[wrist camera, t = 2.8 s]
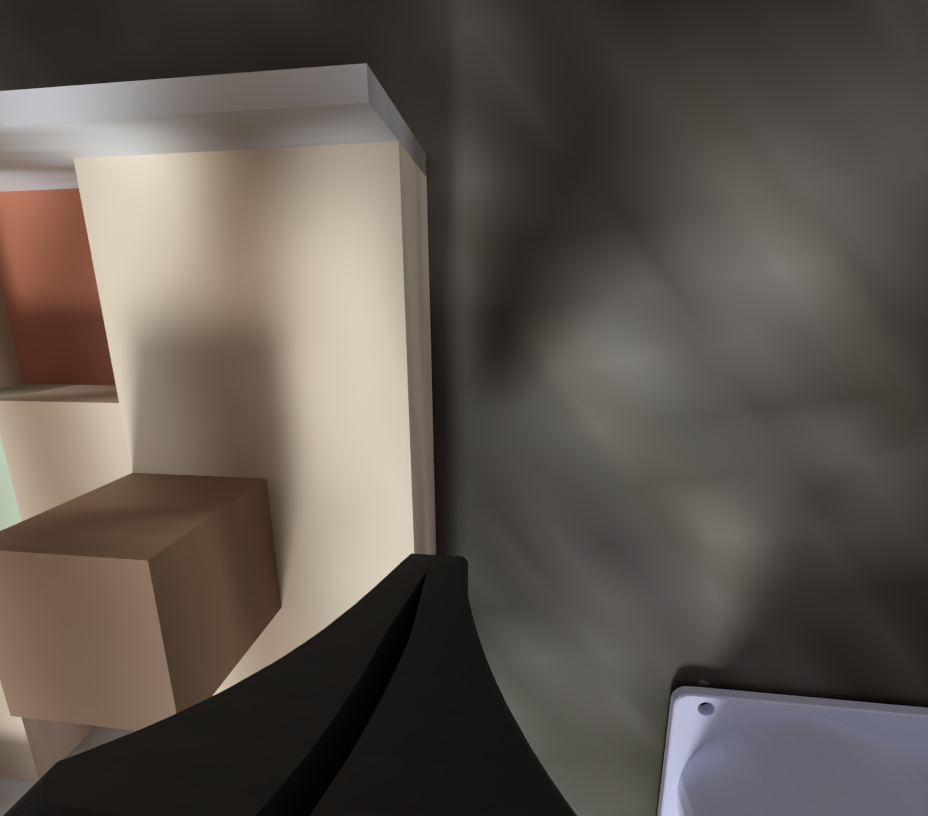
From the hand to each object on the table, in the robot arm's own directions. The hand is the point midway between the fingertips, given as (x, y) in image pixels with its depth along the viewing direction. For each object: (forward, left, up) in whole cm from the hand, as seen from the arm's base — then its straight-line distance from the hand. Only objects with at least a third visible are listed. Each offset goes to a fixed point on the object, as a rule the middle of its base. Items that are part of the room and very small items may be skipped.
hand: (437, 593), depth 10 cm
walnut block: (+7, 0, -2) cm, 7 cm away
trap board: (+10, 0, -5) cm, 11 cm away
